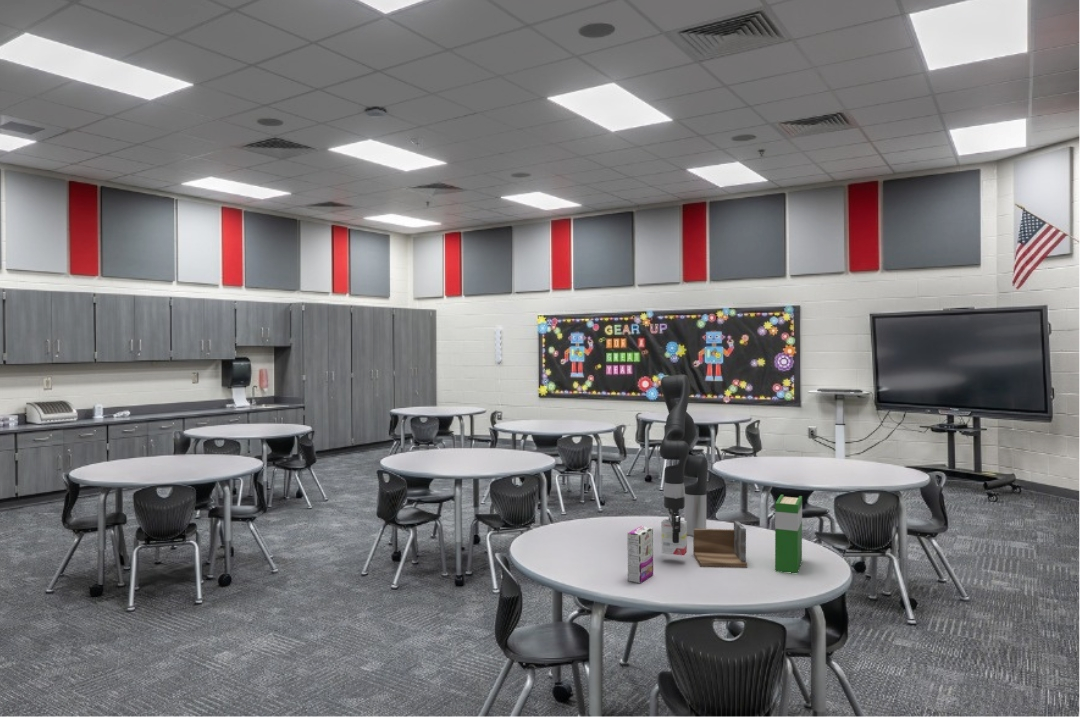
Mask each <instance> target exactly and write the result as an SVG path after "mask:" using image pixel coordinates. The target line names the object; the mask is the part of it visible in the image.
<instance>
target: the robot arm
mask: <svg viewBox="0 0 1080 717" xmlns="http://www.w3.org/2000/svg"><path fill="white" fill-rule="evenodd" d="M660 390H661V393H662V396H663V399H664V403H665V406H666V408H667V412H668V415H667V417H666V421H665V433H664V435H663V439H662V441H661V442H660V446H659V455H660V457H661V458H662V459H663V460H668V461H669V460H671V461H675V460H676V461H678V462H677V463H676V464H673V465H668V466H666V467H665V468H664V485H663V486H664V487H663V507H664V508H665V509H667V510H668V514H667V515H668V519H669V520H670V524H671V526H672V541H673V543H679V532H680V521H681V518H682V517H681V513H680V510H683V509H684V510H683V511H684V512H683V515H684V516H683V517H684V518H683V521H687V536H689V537H690V536H692V537H693V529H707V488H708V469H709V468H708V467H709V464H708V459H707V458H706V457H705V456H701V455H700V456H699V455H690V454H689V453H690V447H691V445H692V444H693V442H694V441H695V438H696V435H697V430H696V427H695V426H696V425H695V422H694V419H693V417H692V415H691V414H690V413H688V412H687V410H688V405H689V400H690V395H691V381H690V378H689V376H688V375H686V374H675V375H665V376H663V377H661V379H660ZM676 399H678V400H677V401H676ZM685 477H686V478H695V479H696V482H695V483H692V484H688V485H687V484H686V485H685ZM672 522H673V523H672ZM675 526H677V527H678V529H675Z"/></svg>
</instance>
